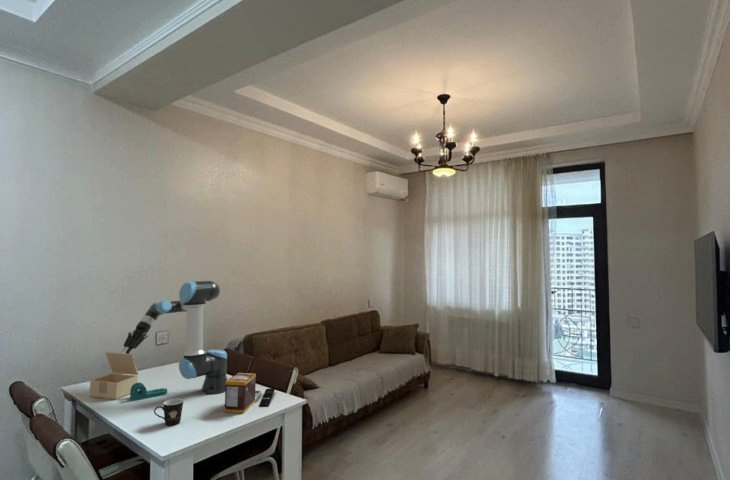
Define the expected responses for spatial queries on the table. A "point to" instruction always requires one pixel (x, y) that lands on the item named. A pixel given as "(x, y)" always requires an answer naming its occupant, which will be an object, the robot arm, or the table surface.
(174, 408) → the coffee mug
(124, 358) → the carton lid
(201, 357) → the robot arm
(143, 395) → the bracket
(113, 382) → the carton
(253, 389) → the supplement box
